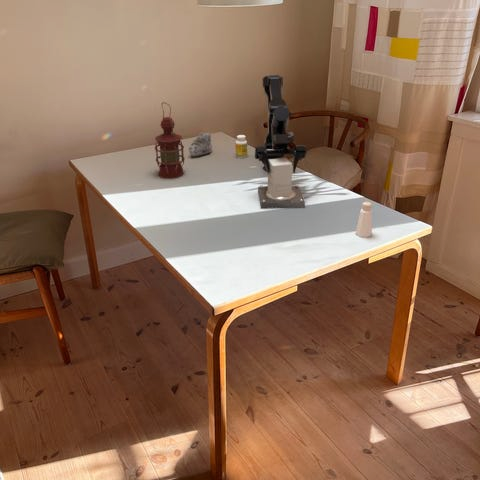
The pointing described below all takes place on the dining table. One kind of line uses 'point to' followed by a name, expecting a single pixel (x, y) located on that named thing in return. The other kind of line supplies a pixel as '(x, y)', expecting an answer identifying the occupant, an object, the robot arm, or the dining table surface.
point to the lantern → (169, 150)
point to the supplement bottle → (241, 146)
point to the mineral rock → (201, 145)
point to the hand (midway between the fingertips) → (281, 173)
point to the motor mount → (281, 199)
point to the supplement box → (280, 177)
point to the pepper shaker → (365, 221)
